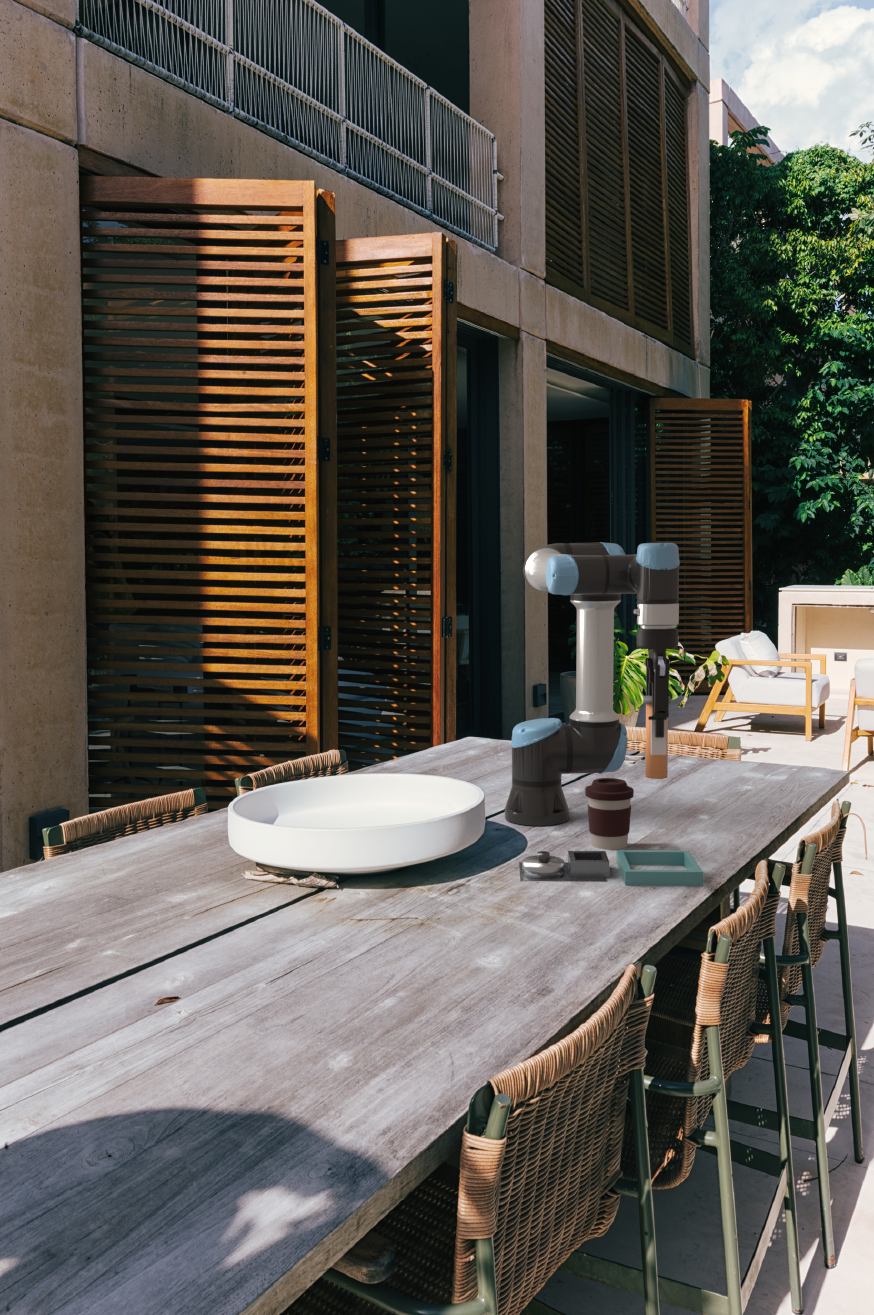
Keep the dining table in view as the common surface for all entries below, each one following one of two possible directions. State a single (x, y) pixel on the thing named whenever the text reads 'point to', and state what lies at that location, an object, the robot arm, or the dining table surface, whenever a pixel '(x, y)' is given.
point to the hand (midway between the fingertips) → (656, 751)
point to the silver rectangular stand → (566, 867)
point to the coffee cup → (609, 812)
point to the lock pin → (654, 763)
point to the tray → (659, 877)
